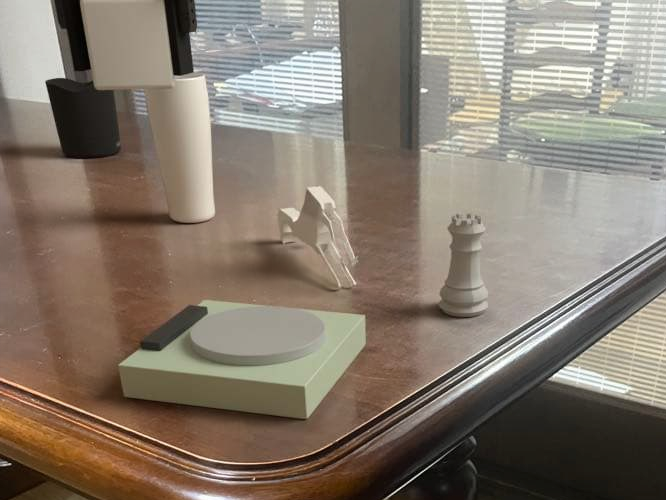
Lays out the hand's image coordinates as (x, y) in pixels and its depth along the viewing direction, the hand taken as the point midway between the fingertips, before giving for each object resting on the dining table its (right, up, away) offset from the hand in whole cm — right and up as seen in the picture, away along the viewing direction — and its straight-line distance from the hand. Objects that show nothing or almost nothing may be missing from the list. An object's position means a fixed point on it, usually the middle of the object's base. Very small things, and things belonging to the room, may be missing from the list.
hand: (134, 71), depth 82 cm
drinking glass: (0, -6, +21) cm, 22 cm away
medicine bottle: (0, -1, +1) cm, 1 cm away
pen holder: (-23, +15, +53) cm, 59 cm away
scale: (+14, -31, -15) cm, 37 cm away
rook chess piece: (+31, -24, -4) cm, 39 cm away
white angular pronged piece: (+16, -16, +7) cm, 24 cm away
